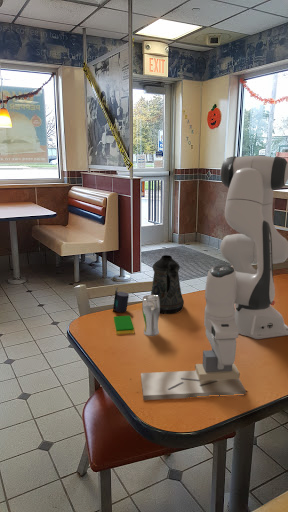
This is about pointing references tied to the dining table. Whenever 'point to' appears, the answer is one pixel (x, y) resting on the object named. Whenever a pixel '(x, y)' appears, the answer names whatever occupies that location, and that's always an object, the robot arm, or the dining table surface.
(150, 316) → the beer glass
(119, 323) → the dish sponge
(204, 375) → the block
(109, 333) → the dining table surface
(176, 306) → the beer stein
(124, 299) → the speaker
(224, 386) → the marked board
